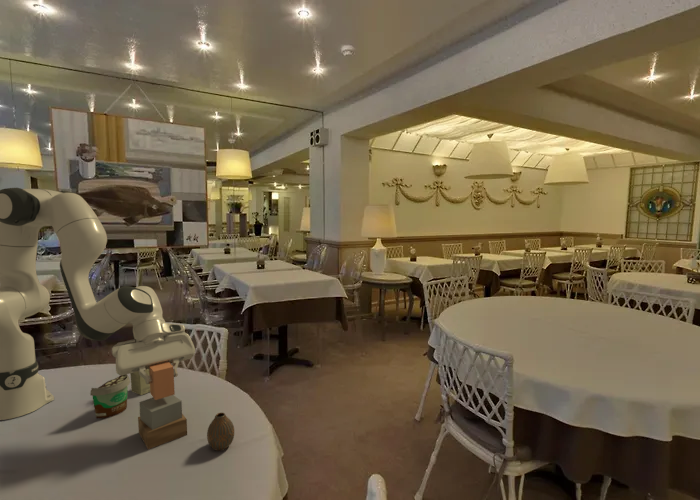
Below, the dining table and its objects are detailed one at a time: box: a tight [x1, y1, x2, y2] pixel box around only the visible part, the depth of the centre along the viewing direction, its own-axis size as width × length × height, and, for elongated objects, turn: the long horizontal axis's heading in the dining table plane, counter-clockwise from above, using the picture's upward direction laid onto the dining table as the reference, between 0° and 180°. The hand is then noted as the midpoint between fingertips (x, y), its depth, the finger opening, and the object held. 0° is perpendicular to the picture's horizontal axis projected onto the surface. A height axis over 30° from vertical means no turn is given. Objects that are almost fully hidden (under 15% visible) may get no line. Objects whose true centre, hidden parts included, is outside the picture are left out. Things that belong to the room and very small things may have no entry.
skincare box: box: [129, 369, 150, 396], centre depth 131 cm, size 6×4×12 cm
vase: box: [206, 412, 235, 451], centre depth 101 cm, size 7×7×9 cm
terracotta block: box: [149, 362, 176, 400], centre depth 105 cm, size 5×5×8 cm
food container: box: [89, 374, 131, 419], centre depth 118 cm, size 12×6×10 cm, turn 168°
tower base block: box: [137, 413, 188, 450], centre depth 107 cm, size 10×10×5 cm
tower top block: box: [139, 395, 183, 430], centre depth 106 cm, size 8×8×5 cm
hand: (162, 379), depth 105 cm, fingers closed on terracotta block, 5 cm apart
